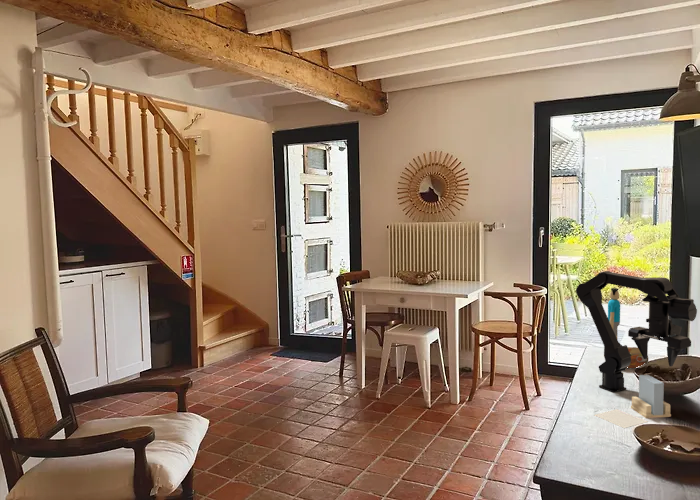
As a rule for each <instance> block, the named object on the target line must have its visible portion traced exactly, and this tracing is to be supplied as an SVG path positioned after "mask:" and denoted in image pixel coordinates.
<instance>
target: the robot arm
mask: <svg viewBox="0 0 700 500" xmlns="http://www.w3.org/2000/svg"><path fill="white" fill-rule="evenodd" d="M607 285H613V286H619V287H624V288H629V289H632V290H633V289H635V290H638V291H640V292H642V293H643V294H645V295H646V296H645V297H644V298H642V300H641V301H642V302H647V303H648V318H645V322H646V323H648V327H644V326H634V327H631V328H629V329H628V332H627V334H628V337H630V339H631V340H632V341H633V342H634V343H635V345H636V347H637V348H639V350H640V352H641V354H642V356H643V358H644V359H647V355H648V354H649V353H648V352H649V351H648V350H649V349H648V347H649V342H650V340H651V339H654V340H657V341H661V342H666V343H667V345H668V346H666V353H667V362H668V366H669V367H673V366H674V364H675V362H676V360H677V358H678V355H679V354H680V352H682V350H685V349H687V348H690V347H692V340H691V339H690V337H687V336H683V335H681V331H682V328H683V327H682V326H679V325H677V324H673V320H672V319H675V320H680V321H681V320H682V321H689V322H693V321H695V319H696V318H697V313H698V308H697V306H696V304H695V301H694V299H693V298H681V297H680V296H679V294H678V293H677V292H676V290H675V289H674V288H673V284H672V282H671V280H670V279H669V278H667V277H664V276H663V277H660V276H659V277H640V276H635V275H629V274H623V273H618V272H613V271H610V270H604V271H600V272H599V273H598V274H596V275H595V276H593V277H591V278H590V279H588V280H586V282H583V283H579V284H578V285H577V286H576V289H575V294H576V296H577V298H578V299H579V300H580V302H581V303H582V305H583V306H585V307H586V308H587V309H588V311H589V314H590V317H591V318H592V320H593V322H594V325H595V328H596V330H597V333H598V335H599V337H600V339H601V342H602V345H603V357H604V362H602V363H601V364H600V365H598V370H599V372H600V373H602V375H601V384H599V385H598V387H599V388H601V389H603V390H606V391H609V392H611V393H616V392H621V391H625V390H627V387H625V377H624V371H626V370H627V369H626V367H627V366H629V365H630V363H631V356H632V355H631V354H630V353H629V350H628V347H629V346H628V345H626V344H624V345H622V344H621V343H620V342H619V341H618V340H617V339H618V337H617V338H616V336H615V333H614V331H613V329H612V326H611V324H610V322H609V319H608V314H607V313H606V310H605V308H604V306H603V293H602V290H603V289H605V288H606V287H607ZM670 317H671V319H670ZM648 356H649V355H648Z"/></svg>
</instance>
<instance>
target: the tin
mask: <svg viewBox="0 0 700 500" xmlns="http://www.w3.org/2000/svg"><path fill="white" fill-rule="evenodd" d="M627 347H628V350H629V353H630V354H631V355H632V356H631V363H630V365H629V366H627V367H628V368H636V367H638V366H641V365H643V364H644V363H647V362H648V363H649V355H647V359H644V358H643V356H642V354H641V352H640V350H639V348H638V347H637V346H627ZM648 363H647V364H648ZM627 367H626V368H627Z"/></svg>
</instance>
